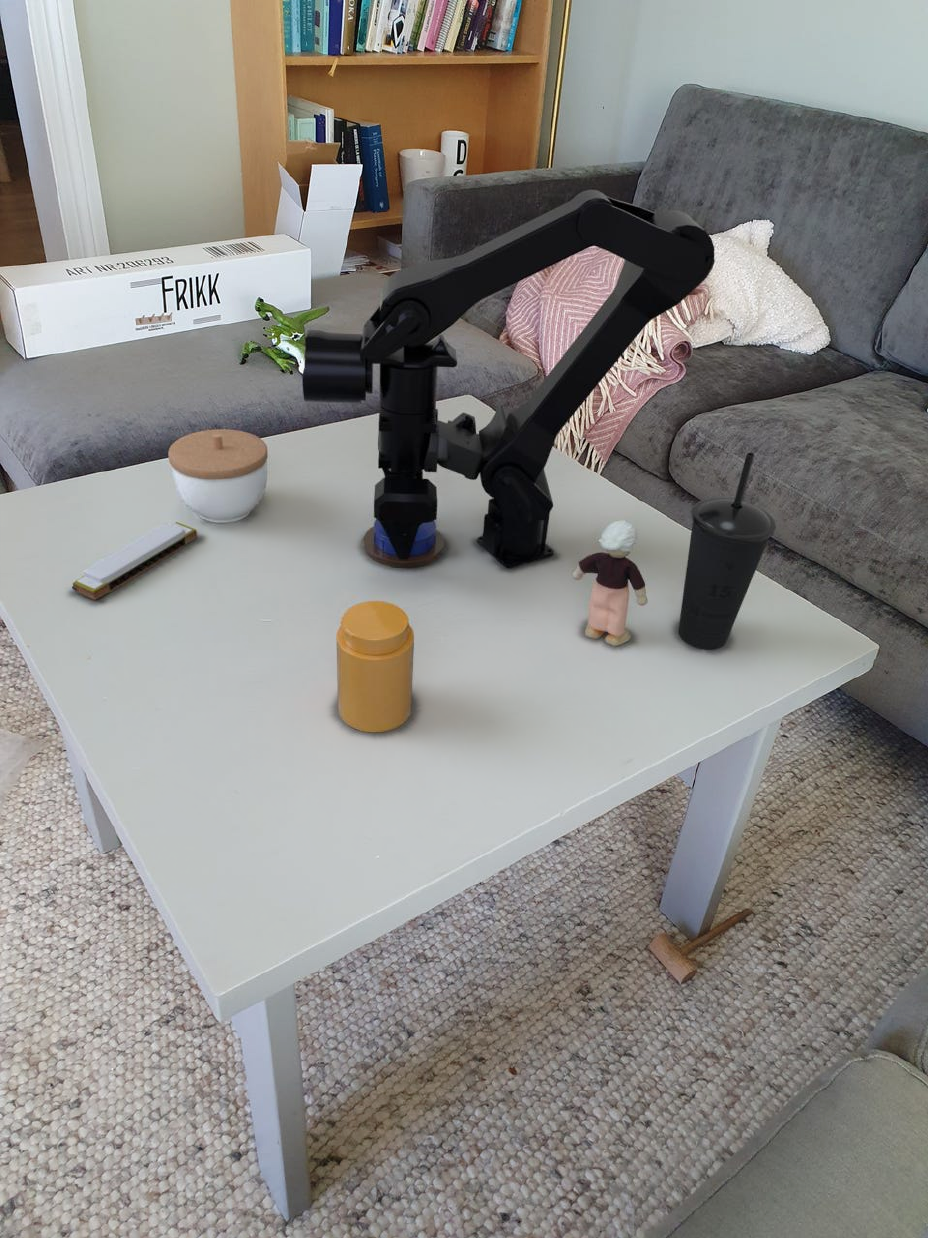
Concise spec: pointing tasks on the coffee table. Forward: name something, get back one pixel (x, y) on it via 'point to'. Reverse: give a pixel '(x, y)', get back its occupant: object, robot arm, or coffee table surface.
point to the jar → (374, 666)
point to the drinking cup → (721, 564)
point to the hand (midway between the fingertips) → (403, 536)
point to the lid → (421, 544)
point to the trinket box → (220, 473)
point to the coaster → (393, 559)
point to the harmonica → (133, 559)
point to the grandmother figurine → (612, 583)
